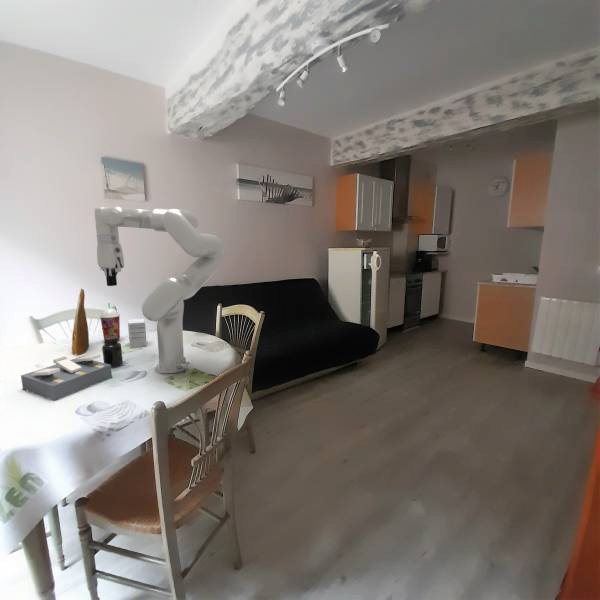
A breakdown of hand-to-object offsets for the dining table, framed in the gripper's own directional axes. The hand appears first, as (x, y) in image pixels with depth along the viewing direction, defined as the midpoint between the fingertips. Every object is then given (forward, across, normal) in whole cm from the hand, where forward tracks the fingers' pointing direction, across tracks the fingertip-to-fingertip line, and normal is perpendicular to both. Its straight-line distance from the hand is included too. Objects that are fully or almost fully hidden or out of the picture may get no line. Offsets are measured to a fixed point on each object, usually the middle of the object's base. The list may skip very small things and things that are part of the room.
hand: (112, 285), depth 130 cm
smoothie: (+33, +27, -17) cm, 46 cm away
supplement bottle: (+33, -1, +3) cm, 33 cm away
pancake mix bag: (+33, +28, -3) cm, 44 cm away
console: (+33, -2, +21) cm, 39 cm away
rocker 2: (+26, -2, +21) cm, 34 cm away
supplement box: (+33, +11, -19) cm, 40 cm away
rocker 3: (+26, -2, +14) cm, 30 cm away
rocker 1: (+26, -2, +28) cm, 38 cm away
